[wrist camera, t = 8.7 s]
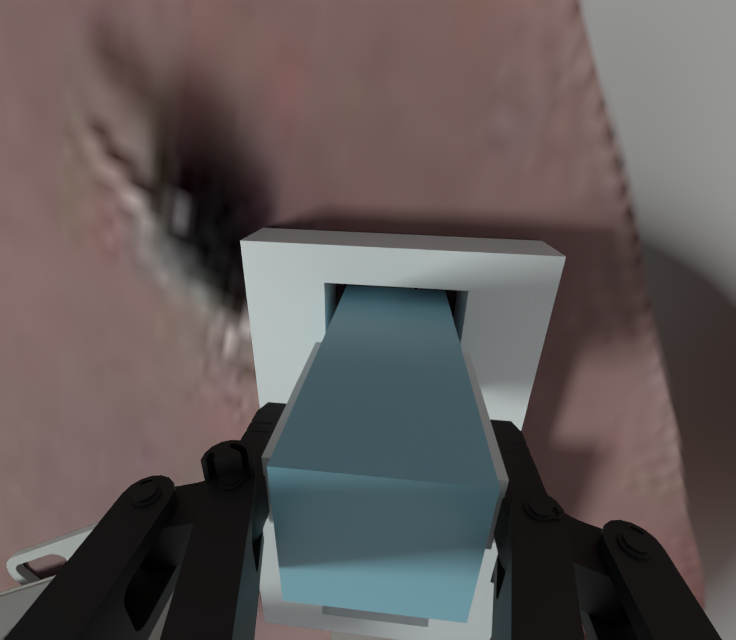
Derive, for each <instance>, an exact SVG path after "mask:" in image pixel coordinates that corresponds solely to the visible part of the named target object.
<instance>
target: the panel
mask: <svg viewBox="0 0 736 640" xmlns="http://www.w3.org/2000/svg"><path fill="white" fill-rule="evenodd" d="M240 243H241V252H242V260H243V269H244V277H245V286H246V294H247V302H248V311H249V319H250V328H251V336H252V345H253V353H254V362H255V370H256V378H257V387H258V395H259V404H260V408H261V407H263V406H264V405H265V404H266V403H268V402H273V403H285V404H287V402H288V400H289V398H290V396H291V393H292V391H293V389H294V387H295V385H296V383H297V381H298V379H299V376H300V374H301V372H302V370H303V368H304V366H305V364H306V362H307V359H308V357H309V355H310V353H311V351H312V349H313V347H314V345H315V343H316V342H322V340H323V338H324V336H325V333H326V331H327V329H328V327H329V324H330V322H331V320H332V318H333V315H334V313H335V311H336V283H338V284H356V285H373V286H391V287H408V288H426V289H443V290H457V295H456V302H455V310H454V317H453V320H454V324H455V328H456V331H457V335H458V338H459V342H460V346H461V349H462V352H468V353H470V356H471V360H472V363H473V366H474V369H475V373H476V376H477V379H478V382H479V386H480V389H481V392H482V395H483V398H484V402H485V405H486V408H487V411H488V415H489V418H490V419H491V420H503V421H512V423H513V424H514V425H515V426H516V427H517V428H518V429H519V430H520V431H521V429H522V426H523V422H524V418H525V414H526V410H527V406H528V402H529V398H530V394H531V391H532V387H533V383H534V379H535V375H536V371H537V367H538V363H539V360H540V356H541V352H542V348H543V344H544V340H545V336H546V332H547V329H548V325H549V321H550V317H551V313H552V309H553V305H554V301H555V298H556V294H557V290H558V286H559V282H560V278H561V274H562V270H563V267H564V263H565V259H566V256H564V255H563V254H561V253H560V252H558V251H557V250H555V249H554V248H552V247H551V246H549V245H548V244H546V243H545V242H543V241H536V240H515V239H494V238H472V237H451V236H429V235H408V234H387V233H365V232H344V231H323V230H301V229H280V228H262V229H261V230H259V231H257V232H255V233H253V234H251V235H249V236H248V237H246V238H244V239H242V240H240ZM263 534H264V546H263V556H262V566H261V576H260V593H261V599H262V605H263V612H264V618H265V623H273V624H281V625H288V626H296V627H304V628H312V629H320V630H328V631H335V632H343V633H351V634H359V635H367V636H374V637H382V638H390V639H398V640H490V638H491V635H492V614H493V592H494V583H491V582H490V581H491V577H492V573H493V570H494V566H495V562H496V559H497V555H498V552H497V547H496V543H495V538H494V540H493V544H492V548H491V550H489V549H485V552H484V556H483V560H482V564H481V568H480V572H479V576H478V580H477V584H476V588H475V592H474V596H473V600H472V604H471V608H470V612H469V616H468V620H467V623H461V622H453V621H444V620H436V619H428V618H420V617H412V616H404V615H396V614H387V613H379V612H371V611H363V610H355V609H347V608H339V607H331V606H322V605H314V604H306V603H298V602H290V601H283V599H282V590H281V582H280V573H279V565H278V557H277V548H276V540H275V531H274V526H270V522H269V514H268V517H267V520H266V522H265V525H264V527H263Z"/></svg>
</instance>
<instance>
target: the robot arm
mask: <svg viewBox="0 0 736 640" xmlns="http://www.w3.org/2000/svg"><path fill="white" fill-rule="evenodd" d="M320 345H321V342H316V343H315V345H314V347H313V349H312V351H311V353H310V355H309V357H308V359H307V362H306V364H305V366H304V368H303V370H302V372H301V374H300V376H299V379H298V381H297V383H296V385H295V387H294V389H293V391H292V393H291V396H290V398H289V400H288V402H287V404H285V403H273V402H268V403H266V404H265V405H264V406H263V407H261V408H260V409H259V410H258V411H257V412H256V414H255V416H254V418H253V419H252V422H251V423H250V425H249V426H248V428H247V431H246V432H245V433H244V435H243V437H242V439H241V440H240V441H239V440H229V441H225V442H221V443H219V444H217V445H215V446H213V447H211V448H210V449H209V450H208V451H207V452H205V454H204V455H203V457H202V459H201V464H202V469H203V473H204V478H205V481H202V482H198V483H194V484H188V485H182V486H177V487H175V486H174V482H173V481H172V480H171V479H170V478H169V477H165V476H162V475H160V476H150V477H147V478H144V479H141V480H139V481H138V482H136V483H134V484H132V485H131V486H130V487H129V488H128V489H127V490H125V491H124V492H123V493H122V495H121V496H120V497H119V498H118V499H117V501H116V502H115V503H114V504H113V506H112V507H111V508H110V509H109V511H108V512H107V513H106V514H105V515H104V517H103V518H102V519H101V520H100V522H99V523H98V524H97V525H96V527H95V528H94V529H93V530H92V531H91V533H90V534H89V535H88V536H87V538H86V539H85V540H84V541H83V542H82V544H81V545H80V546H79V547H78V549H77V550H76V551H75V552H74V554H73V555H72V556H71V557H70V558H69V560H68V561H67V562H66V563H65V565H64V566H63V567H62V568H61V569H60V571H59V572H58V573H57V574H56V576H55V577H54V578H53V579H52V581H51V582H50V583H49V584H48V585H47V587H46V588H45V589H44V590H43V592H42V593H41V594H40V595H39V596H38V598H37V599H36V600H35V601H34V603H33V604H32V605H31V606H30V608H29V609H28V610H27V611H26V612H25V614H24V615H23V616H22V617H21V619H20V620H19V621H18V622H17V624H16V625H15V626H14V627H13V628H12V630H11V631H10V632H9V633H8V635H7V636H6V637H5V638H4V639H3V640H148V639H149V637H150V635H151V633H152V631H153V629H154V627H155V625H156V624H157V622H158V620H159V618H160V616H161V614H162V612H163V610H164V608H165V606H166V604H167V602H168V600H169V598H170V597H171V595H172V593H173V596H172V599H171V603H170V606H169V610H168V613H167V616H166V620H165V623H164V627H163V630H162V634H161V637H160V640H254V636H255V626H256V616H257V606H258V596H259V586H260V576H261V566H262V556H263V546H264V534H263V527H264V525H265V522H266V520H267V517H268V514H269V522H270V526H274V523H273V514H272V506H271V498H270V489H269V481H268V472H267V465H268V462H269V460H270V458H271V456H272V453H273V451H274V449H275V447H276V444H277V442H278V440H279V438H280V435H281V433H282V431H283V428H284V426H285V424H286V422H287V419H288V417H289V415H290V413H291V410H292V408H293V406H294V404H295V401H296V399H297V397H298V395H299V392H300V390H301V388H302V385H303V383H304V381H305V379H306V376H307V374H308V372H309V370H310V367H311V365H312V363H313V361H314V358H315V356H316V354H317V352H318V349H319V347H320ZM462 353H463V356H464V360H465V364H466V367H467V371H468V374H469V378H470V382H471V385H472V389H473V392H474V396H475V400H476V403H477V407H478V410H479V414H480V418H481V421H482V425H483V428H484V432H485V436H486V439H487V443H488V446H489V450H490V454H491V457H492V461H493V464H494V468H495V472H496V475H497V479H498V482H499V486H500V492H499V496H498V500H497V504H496V508H495V512H494V516H493V520H492V524H491V528H490V532H489V536H488V540H487V544H486V548H485V549H489V550H491V548H492V544H493V540H494V538H495V543H496V547H497V552H498V555H497V559H496V562H495V566H494V570H493V573H492V577H491V581H490V582H491V583H494V592H493V614H492V636H491V640H584V634H583V627H582V624H583V626H584V629H585V632H586V635H587V637H588V640H722V639H721V638H720V636H719V635H718V633H717V631H716V630H715V628H714V627H713V625H712V624H711V622H710V620H709V619H708V617H707V616H706V614H705V612H704V611H703V609H702V608H701V606H700V605H699V603H698V601H697V600H696V598H695V597H694V595H693V594H692V592H691V590H690V589H689V587H688V586H687V584H686V583H685V581H684V579H683V578H682V576H681V575H680V573H679V572H678V570H677V568H676V567H675V565H674V564H673V562H672V561H671V559H670V557H669V556H668V554H667V553H666V551H665V550H664V548H663V547H662V546H661V544H660V543H659V542H658V541H657V540H656V538H654V537H653V536H652V535H651V534H649V533H648V532H647V531H646V530H644V529H643V528H641V527H639V526H637V525H635V524H633V523H630V522H626V521H622V520H612V521H609V522H608V523H606V524H605V525H604V527H603V529H601V528H598V527H595V526H592V525H590V524H587V523H584V522H582V521H579V520H577V519H574V518H572V517H570V516H569V515H567V514H565V513H564V510H563V509H562V508H561V506H560V505H559V504H558V503H557V501H555V500H554V499H553V498H551V497H550V496H548V495H547V493H546V491H545V488H544V486H543V483H542V481H541V478H540V476H539V473H538V471H537V469H536V466H535V464H534V461H533V459H532V456H530V451H529V449H528V446H526V442H525V439H524V437H523V434H522V432H521V431H520V430H519V429H518V428H517V427H516V426H515V425H514V424H513V423H512V421H503V420H491V419H490V418H489V415H488V411H487V408H486V405H485V402H484V398H483V395H482V392H481V389H480V386H479V382H478V379H477V376H476V373H475V369H474V366H473V363H472V360H471V356H470V353H468V352H462ZM173 591H174V592H173Z"/></svg>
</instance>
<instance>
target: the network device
mask: <svg viewBox="0 0 736 640" xmlns="http://www.w3.org/2000/svg"><path fill="white" fill-rule="evenodd" d="M97 524H98V523H96V524H93V525H90V526H87V527H85V528H82V529H79V530H76V531H73V532H71V533H68V534H65V535H62V536H59V537H56V538H54V539H51V540H48V541H45V542H42V543H40V544H37V545H34V546H31V547H28V548H26V549H23V550H20V551H18V552H16V553H15V554H14V555H13V556H12V557H11V558H10V559H9V560H8V562H7V570H8V572H9V573H10V575H11V576H12V577H13V578H14V579H15V580H16V581H17V582H19V583H20V584H21V585H23V586H20V587H16V588H13V589H10V590H7V591H4V592H0V640H3V639H4V638H5V637H6V636H7V635H8V633H9V632H10V631H11V630H12V628H13V627H14V626H15V625H16V624H17V622H18V621H19V620H20V619H21V617H22V616H23V615H24V614H25V612H26V611H27V610H28V609H29V608H30V606H31V605H32V604H33V603H34V601H35V600H36V599H37V598H38V596H39V595H40V594H41V593H42V592H43V590H44V589H45V588H46V587H47V585H48V584H49V583H50V582H51V581H52V579H53V578H54V577H55V576H56V575H55V576H51V577H48V578H45V579H42V580H41V579H39V578H38V577H37V576H36V575H34V574H33V573H32V572H30V571H29V570H28V569H27V568H25V567H24V565H23V564H22V563H25V562H28V561H31V560H34V559H37V558H40V557H43V556H46V555H49V554H57V555H60V556H63V557H64V558H66V560H67V561H68V560H69V558H70V557H71V556H72V555H73V554H74V552H75V551H76V550H77V549H78V547H79V546H80V545H81V544H82V542H83V541H84V540H85V539H86V538H87V536H88V535H89V534H90V533H91V531H92V530H93V529H94V528H95V527H96V525H97ZM173 592H174V591H173ZM172 596H173V593H172V595H171V597H170V598H169V600H168V602H167V604H166V606H165V608H164V610H163V612H162V614H161V616H160V618H159V620H158V622H157V624H156V625H155V627H154V629H153V631H152V633H151V635H150V637H149V639H148V640H160V637H161V634H162V630H163V627H164V623H165V620H166V616H167V613H168V610H169V606H170V603H171V599H172Z"/></svg>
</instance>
